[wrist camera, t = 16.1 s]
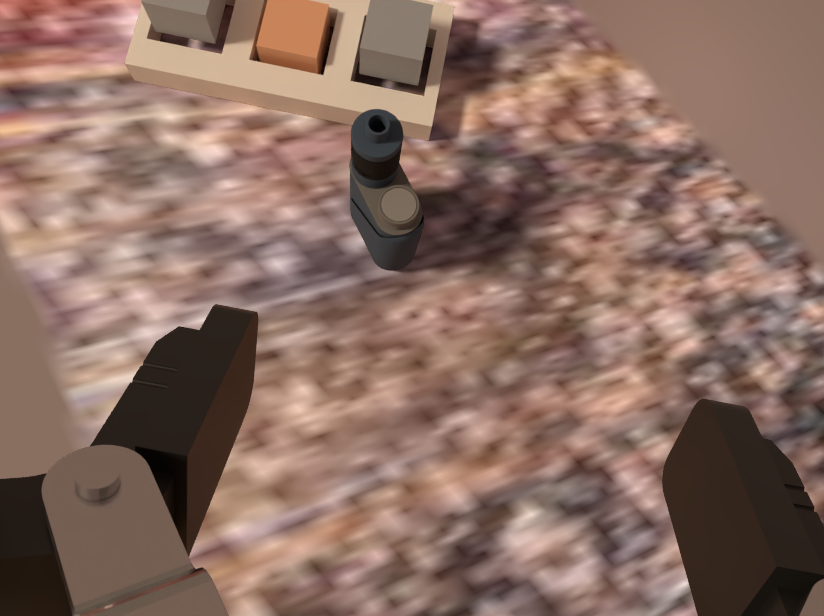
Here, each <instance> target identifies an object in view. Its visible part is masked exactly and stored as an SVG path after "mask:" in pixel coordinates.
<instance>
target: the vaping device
mask: <svg viewBox="0 0 824 616" xmlns="http://www.w3.org/2000/svg"><path fill="white" fill-rule="evenodd" d="M402 141H403V128H402V125H401V123H400V121H399V120H398V119H397V117H396V116H394V115H393V114H392V113H390V112H388V111H386V110H382V109H371V110H368V111H365V112H363V113H361V114H360V115H359V116H358V117H357V118H356V119H355V121H354V123H353V125H352V129H351V159H350V164H349V167H350V210H351V216H352V218H353V220H354V222H355V224H356V226H357V228H358V230H359V232H360V234H361V236H362V238H363V240H364V242H365V244H366V246H367V248H368V250H369V252H370V254H371V256H372V258H373V260H374V262H375V263H376V264H377V265H378V266H379V267H381V268H382V269H385V270H397V269H400V268H403V267H404V266H406V265H407V264H408V263H409V262H410V261H411V260H412V259H413V256H414V254H415V251H416V248H417V245H418V242H419V238H420V235H421V232H422V229H423V226H424V216H423V210H422V206H421V204H420V202H419V199H418V197H417V195H416V193H415V192H414V190H413V189H412V187H411V185H410V183H409V181H408V179H407V177H406V175H405V173H404V171H403V169H402V167H401V165H400V164H399V160H400V158H399V157H400V153H401V147H402ZM399 150H400V151H399Z"/></svg>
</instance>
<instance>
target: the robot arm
mask: <svg viewBox="0 0 824 616" xmlns="http://www.w3.org/2000/svg"><path fill="white" fill-rule="evenodd" d="M257 330H258V313H257V312H254V311H249V310H244V309H238V308H233V307H228V306H223V305H218V304H215V305H214V306H213V307H212V309H211V311H210V313H209V314H208V316H207V318H206V320H205V321H204V323H203V325H202V327H201V329H200V330H196V329H191V328H185V327H180V326H179V327H177V328H176V329H174V330H173V331H171V332H170V333H168V334H167V335H165V336H164V337H162V338H161V339H159V340H158V341H156V343H155V344H154V346H153V347H152V349H151V351H150V352H149V354H148V355H147V357H146V359H145V360H144V362H143V366H141V367H140V368H139V370H138V371H137V373H136V374H135V376H134V378H133V382H132V383H130V384H129V386H128V387H127V389H126V390H125V392H124V393H123V395H122V397H121V398H120V400H119V401H118V403H117V405H116V406H115V408H114V409H113V411H112V412H111V414H110V416H109V417H108V419H107V420H106V422H105V424H104V425H103V427H102V428H101V430H100V431H99V433H98V435H97V436H96V438H95V439H94V441H93V443H92V444H91V445H90V447H86V448H82V449H79V450H76V451H74V452H72V453H71V454H68V455H66V456H65V457H63V458H62V459H60V460H59V461H58V462H56V463H55V464H54V465H53V466H52V468H51V469H50V470H49V471H48V473H46V474H41V475H37V476H31V477H22V478H9V479H0V616H229V615H228V613H227V611H226V609H225V606H224V604H223V602H222V600H221V597H220V595H219V593H218V591H217V589H216V586H215V584H214V582H213V580H212V578H211V577H210V575H209V574H208V572H207V571H206V570H205V569H204V568H198V569H195V568H194V566H193V565H192V563H191V561H190V559H189V555H190V552H191V550H192V547H193V545H194V542H195V540H196V537H197V535H198V532H199V530H200V527H201V525H202V522H203V520H204V517H205V515H206V512H207V510H208V507H209V505H210V502H211V500H212V497H213V495H214V492H215V490H216V487H217V485H218V482H219V480H220V477H221V475H222V472H223V470H224V467H225V465H226V462H227V460H228V457H229V455H230V452H231V450H232V447H233V445H234V442H235V440H236V437H237V435H238V432H239V430H240V427H241V425H242V422H243V420H244V417H245V415H246V412H247V409H248V406H249V402H250V398H251V394H252V388H253V382H254V371H255V357H256V344H257ZM662 484H663V492H664V496H665V500H666V503H667V507H668V510H669V514H670V518H671V521H672V525H673V528H674V532H675V535H676V539H677V543H678V546H679V550H680V553H681V557H682V560H683V564H684V568H685V571H686V575H687V578H688V582H689V585H690V589H691V593H692V596H693V600H694V603H695V607H696V610H697V614H698V616H824V526H823V524H822V522H821V520H820V518H819V516H818V514H817V512H814V506H813V503H812V501H811V499H810V497H809V495H808V493H807V492H804V488H805V487H804V485H803V483H802V481H801V479H800V477H799V475H798V473H797V471H796V469H795V467H794V465H793V463H792V462H791V461H790V460H789V459H788V458H787V457H786V456H785V455H784V454H783V453H782V452H781V450H780V449H779V448H778V447H777V446H776V445H775V444H774V443H773V442H772V441H771V440H768V439H763V438H762V436H761V434H760V432H759V430H758V428H757V426H756V423H755V421H754V419H753V417H752V415H751V413H750V411H749V410H748V409H747V408H746V407H744V406H739V405H734V404H728V403H723V402H718V401H713V400H708V399H701V400H699V401H698V402H697V403H696V405H695V406H694V408H693V410H692V411H691V413H690V415H689V417H688V419H687V421H686V423H685V425H684V427H683V428H682V430H681V432H680V434H679V436H678V438H677V440H676V442H675V444H674V446H673V447H672V449H671V451H670V453H669V455H668V457H667V459H666V462H665V465H664V470H663V479H662Z"/></svg>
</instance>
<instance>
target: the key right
mask: <svg viewBox="0 0 824 616" xmlns="http://www.w3.org/2000/svg"><path fill="white" fill-rule="evenodd" d="M432 11H433V5H431V4H427V3H422V2H417V1H413V0H370V3H369V8H368V12H367V17H366V22H365V26H364V31H363V35H362V40H361V45H360V68H359V74H363V75H368V76H373V77H377V78H382V79H387V80H392V81H397V82H402V83H406V84H411V85H416V86H418V84H419V79H420V74H421V69H422V63H423V58H424V53H425V48H426V43H427V38H428V33H429V27H430V22H431V16H432Z"/></svg>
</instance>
